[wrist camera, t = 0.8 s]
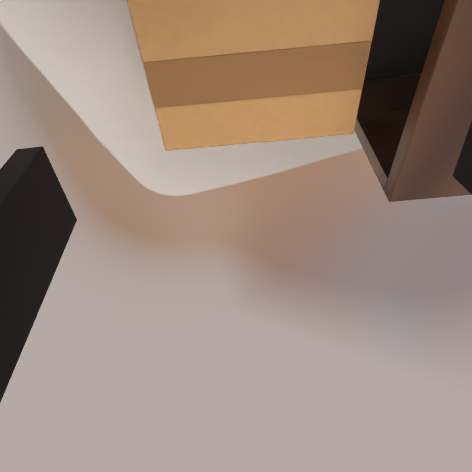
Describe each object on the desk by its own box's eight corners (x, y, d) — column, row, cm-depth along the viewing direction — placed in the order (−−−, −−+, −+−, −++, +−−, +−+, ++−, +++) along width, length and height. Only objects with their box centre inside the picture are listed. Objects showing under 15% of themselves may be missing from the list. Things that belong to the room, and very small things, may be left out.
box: (174, 77, 35) (165, 151, 27) (148, -54, 27) (124, -4, 19) (320, 63, 35) (353, 134, 27) (334, -72, 27) (387, -29, 19)
